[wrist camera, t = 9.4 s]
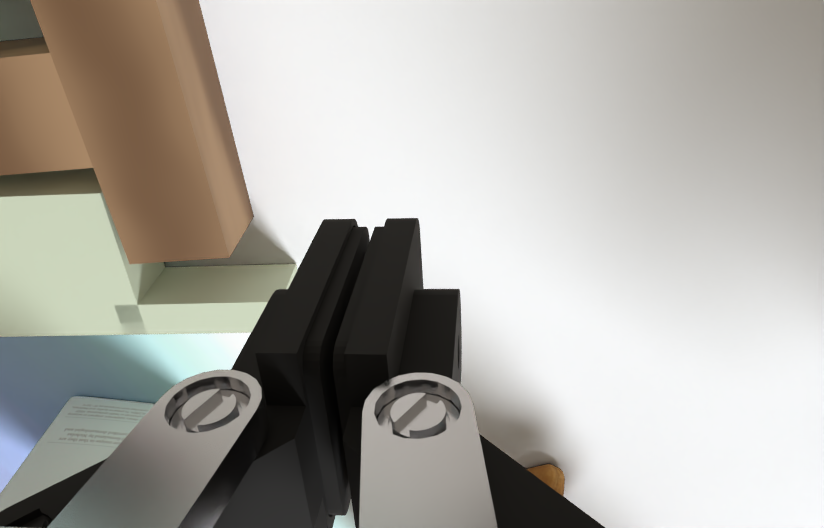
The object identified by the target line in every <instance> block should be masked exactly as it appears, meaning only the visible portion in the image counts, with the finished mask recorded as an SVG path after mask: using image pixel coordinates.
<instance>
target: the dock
mask: <svg viewBox="0 0 824 528" xmlns="http://www.w3.org/2000/svg"><path fill="white" fill-rule="evenodd" d="M296 272H297V265H296V264H270V265H231V266H192V267H165V265H164V262H157V263H142V264H129V261H128V259H127V256H126V253H125V251H124V248H123V245H122V243H121V240H120V237H119V235H118V232H117V229H116V227H115V224H114V222H113V219H112V216H111V214H110V211H109V208H108V206H107V203H106V200H105V198H104V195H103V192H102V190H101V187H100V184H99V182H98V179H97V176H96V174H95V171H94V169H93V168H85V169H73V170H60V171H48V172H36V173H24V174H12V175H0V337H18V336H76V335H134V334H192V333H249V332H252V331H253V329H254V327H255V325H256V323H257V321H258V320H259V318H260V316H261V314H262V312H263V310H264V309H265V307H266V305H267V303H268V301H269V299H270V298H271V296H272V294H273V293H274V292H275V290H278V289H288V288H289V286H290V284H291V282H292V280H293V278H294V276H295V274H296Z"/></svg>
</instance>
